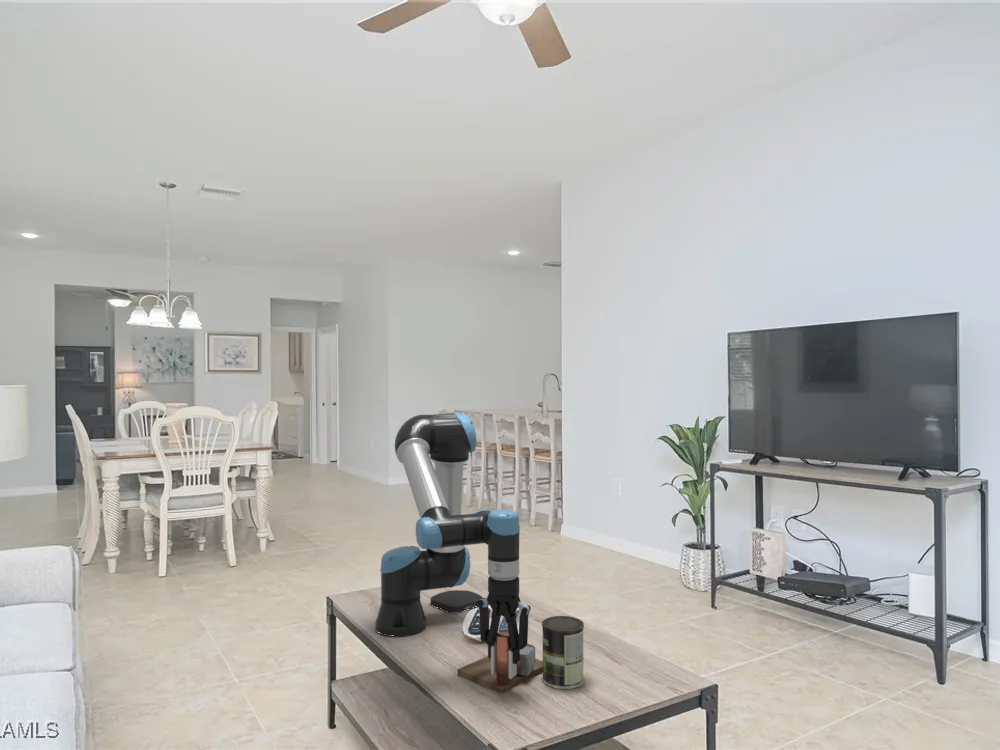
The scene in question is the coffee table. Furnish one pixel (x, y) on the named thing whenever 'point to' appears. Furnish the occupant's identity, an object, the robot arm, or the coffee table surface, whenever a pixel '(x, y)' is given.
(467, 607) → the media streaming box
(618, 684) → the coffee table surface
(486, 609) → the robot arm
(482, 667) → the board
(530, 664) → the lever
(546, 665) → the coffee can
